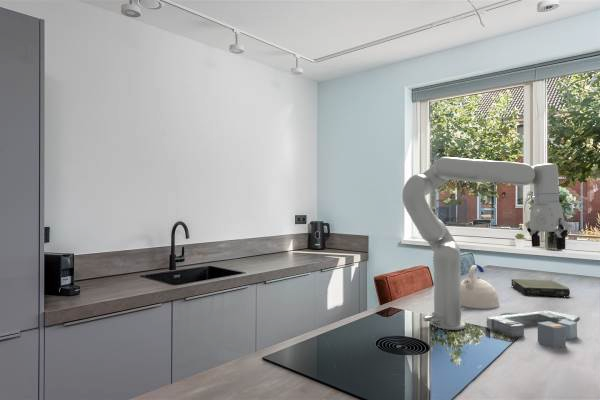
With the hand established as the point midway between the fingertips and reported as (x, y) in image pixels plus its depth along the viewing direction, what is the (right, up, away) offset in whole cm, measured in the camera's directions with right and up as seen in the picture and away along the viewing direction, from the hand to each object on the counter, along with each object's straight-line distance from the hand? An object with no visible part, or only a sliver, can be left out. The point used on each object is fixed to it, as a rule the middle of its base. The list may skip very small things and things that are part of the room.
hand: (548, 247), depth 136 cm
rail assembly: (-2, -31, +7) cm, 32 cm away
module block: (-3, -31, -7) cm, 32 cm away
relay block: (+7, -31, 0) cm, 32 cm away
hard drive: (+19, -32, +23) cm, 43 cm away
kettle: (-5, -32, +46) cm, 56 cm away
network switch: (+39, -32, +67) cm, 84 cm away
